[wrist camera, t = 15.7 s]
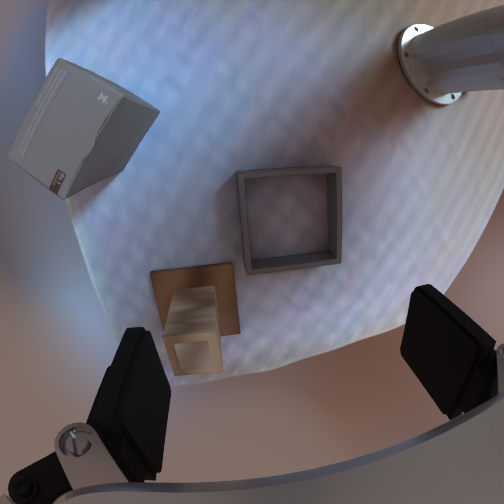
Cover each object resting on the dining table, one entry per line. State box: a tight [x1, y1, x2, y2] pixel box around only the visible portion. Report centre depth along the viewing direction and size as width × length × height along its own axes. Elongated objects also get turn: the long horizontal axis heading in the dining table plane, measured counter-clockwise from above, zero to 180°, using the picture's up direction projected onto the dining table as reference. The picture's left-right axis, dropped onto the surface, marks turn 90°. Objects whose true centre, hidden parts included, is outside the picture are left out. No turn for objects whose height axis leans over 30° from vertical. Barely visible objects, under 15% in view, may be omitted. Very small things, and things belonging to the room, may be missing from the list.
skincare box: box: [7, 58, 160, 200], centre depth 22 cm, size 8×7×16 cm
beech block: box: [163, 285, 223, 376], centre depth 32 cm, size 5×5×10 cm
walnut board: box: [150, 262, 241, 336], centre depth 37 cm, size 10×10×1 cm
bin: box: [236, 166, 342, 275], centre depth 33 cm, size 11×11×3 cm
